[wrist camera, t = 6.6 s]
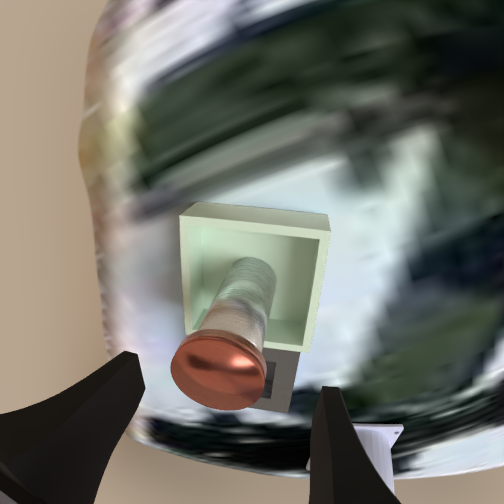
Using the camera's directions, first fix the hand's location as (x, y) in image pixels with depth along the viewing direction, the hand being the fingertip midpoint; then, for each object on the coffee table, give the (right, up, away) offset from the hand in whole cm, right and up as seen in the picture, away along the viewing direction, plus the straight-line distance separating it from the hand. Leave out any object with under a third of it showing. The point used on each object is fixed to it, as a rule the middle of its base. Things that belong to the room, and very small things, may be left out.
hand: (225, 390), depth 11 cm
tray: (+1, +4, +9) cm, 10 cm away
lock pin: (+1, +3, +9) cm, 10 cm away
